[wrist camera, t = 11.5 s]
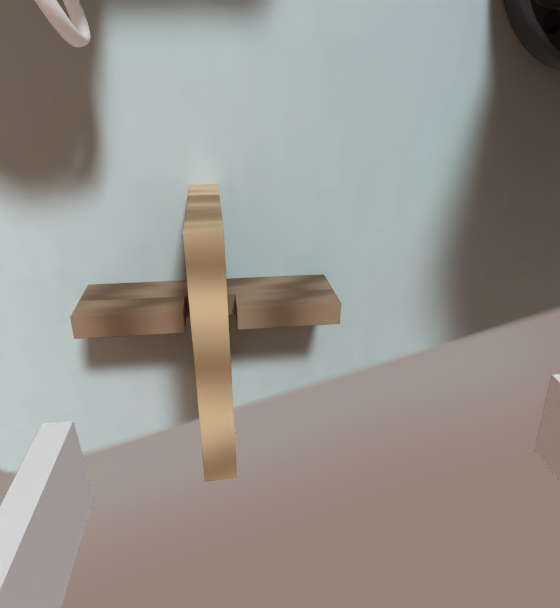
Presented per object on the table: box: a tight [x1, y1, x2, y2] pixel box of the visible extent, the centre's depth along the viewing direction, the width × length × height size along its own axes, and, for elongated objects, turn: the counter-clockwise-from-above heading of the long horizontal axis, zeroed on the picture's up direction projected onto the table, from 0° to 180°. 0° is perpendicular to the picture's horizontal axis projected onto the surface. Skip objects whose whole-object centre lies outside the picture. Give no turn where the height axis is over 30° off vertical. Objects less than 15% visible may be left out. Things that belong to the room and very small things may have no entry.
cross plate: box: [183, 184, 237, 481], centre depth 33 cm, size 16×2×12 cm, turn 0°
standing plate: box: [70, 275, 341, 339], centre depth 36 cm, size 18×2×6 cm, turn 90°
